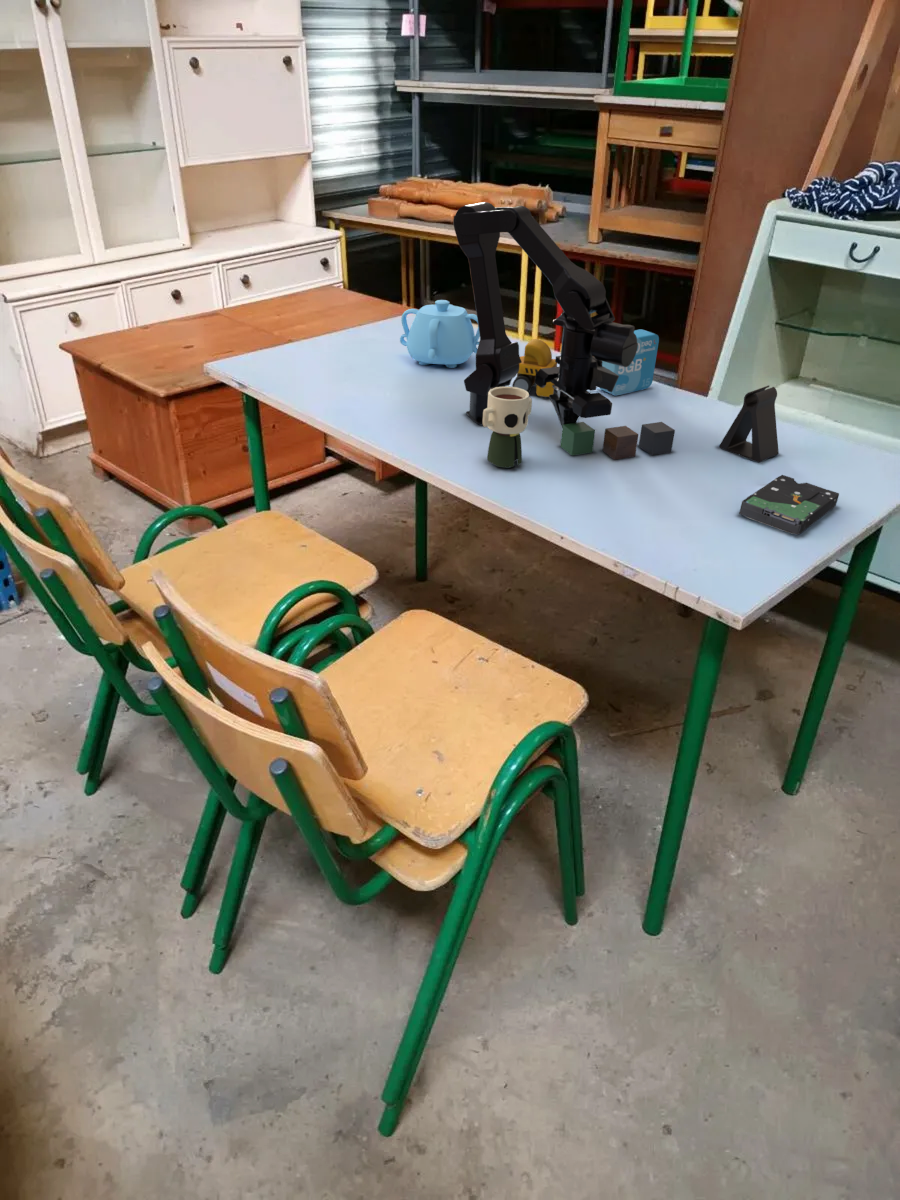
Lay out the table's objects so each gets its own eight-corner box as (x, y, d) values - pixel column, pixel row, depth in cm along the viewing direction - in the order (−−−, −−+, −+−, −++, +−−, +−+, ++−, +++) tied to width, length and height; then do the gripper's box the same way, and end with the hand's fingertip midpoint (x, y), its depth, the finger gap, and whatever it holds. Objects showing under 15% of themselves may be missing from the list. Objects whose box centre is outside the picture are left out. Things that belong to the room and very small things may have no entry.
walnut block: (614, 459, 159) (617, 437, 157) (602, 450, 163) (605, 428, 160) (635, 456, 161) (638, 434, 158) (622, 447, 164) (625, 425, 162)
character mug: (494, 477, 151) (498, 405, 144) (468, 463, 156) (471, 393, 149) (540, 462, 157) (546, 393, 150) (513, 449, 162) (518, 381, 155)
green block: (571, 455, 160) (574, 433, 158) (560, 446, 164) (562, 424, 161) (592, 452, 162) (595, 430, 159) (580, 443, 165) (583, 421, 163)
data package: (611, 397, 187) (618, 341, 180) (597, 391, 190) (604, 335, 184) (652, 388, 193) (660, 333, 186) (637, 382, 196) (645, 328, 189)
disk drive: (776, 488, 151) (737, 515, 142) (780, 473, 150) (741, 500, 140) (835, 508, 145) (799, 537, 136) (840, 492, 144) (803, 521, 134)
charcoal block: (651, 455, 161) (655, 432, 159) (638, 446, 165) (641, 424, 162) (671, 452, 163) (675, 430, 160) (658, 443, 166) (661, 421, 164)
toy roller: (571, 403, 183) (577, 353, 177) (505, 394, 187) (508, 345, 181) (580, 390, 190) (585, 342, 184) (516, 381, 194) (519, 334, 188)
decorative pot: (457, 347, 214) (459, 289, 207) (487, 366, 202) (490, 306, 195) (396, 354, 208) (395, 295, 201) (423, 374, 196) (423, 313, 189)
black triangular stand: (778, 455, 163) (793, 393, 156) (759, 463, 160) (774, 400, 153) (737, 440, 169) (750, 379, 162) (718, 447, 165) (731, 385, 159)
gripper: (643, 366, 152) (630, 449, 161) (589, 334, 166) (579, 411, 175) (588, 372, 148) (577, 457, 157) (537, 339, 162) (530, 418, 171)
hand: (567, 434), depth 165 cm, fingers closed
